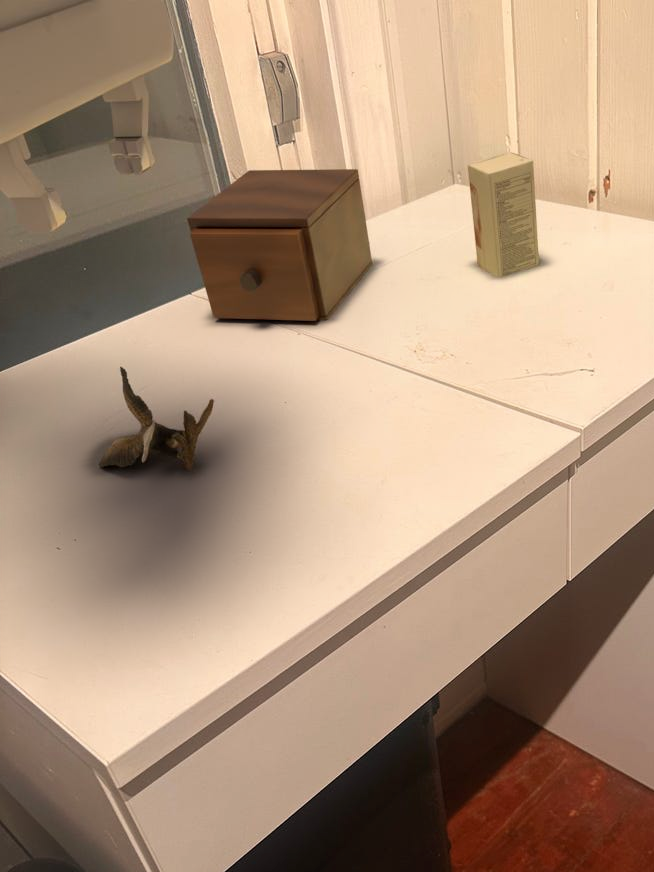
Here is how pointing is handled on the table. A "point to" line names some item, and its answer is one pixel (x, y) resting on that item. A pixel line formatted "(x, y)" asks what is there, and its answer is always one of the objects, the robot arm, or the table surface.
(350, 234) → the cabinet
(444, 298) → the table surface
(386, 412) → the table surface
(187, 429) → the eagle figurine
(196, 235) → the drawer
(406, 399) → the table surface
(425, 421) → the table surface
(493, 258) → the tall printed carton
